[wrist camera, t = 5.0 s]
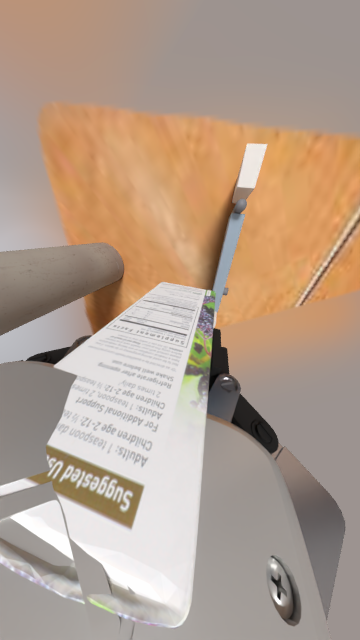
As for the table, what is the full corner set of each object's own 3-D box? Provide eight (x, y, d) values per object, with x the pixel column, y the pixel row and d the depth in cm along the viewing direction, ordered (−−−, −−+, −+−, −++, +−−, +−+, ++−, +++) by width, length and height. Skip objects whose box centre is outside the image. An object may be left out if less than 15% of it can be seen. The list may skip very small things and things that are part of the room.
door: (223, 294, 28) (224, 316, 21) (211, 291, 28) (208, 312, 21) (247, 211, 21) (261, 200, 13) (230, 209, 21) (235, 198, 14)
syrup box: (204, 335, 17) (172, 596, 5) (157, 325, 18) (23, 523, 5) (216, 290, 14) (212, 695, 2) (159, 279, 15) (-138, 497, 2)
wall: (212, 319, 32) (209, 346, 24) (205, 317, 32) (199, 344, 24) (249, 178, 19) (267, 144, 12) (237, 177, 19) (247, 143, 12)
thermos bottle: (97, 279, 34) (-170, 381, 11) (86, 241, 29) (-398, 277, 6) (127, 283, 32) (-110, 411, 9) (120, 243, 28) (-355, 300, 5)
